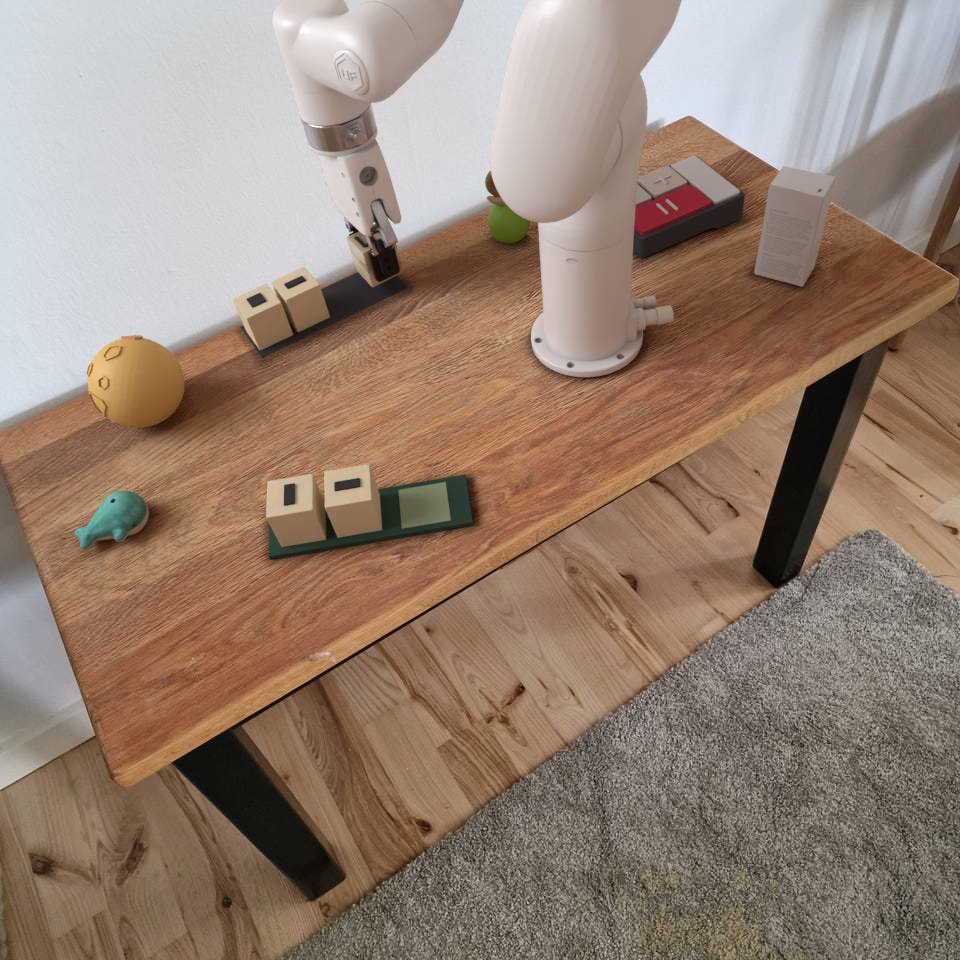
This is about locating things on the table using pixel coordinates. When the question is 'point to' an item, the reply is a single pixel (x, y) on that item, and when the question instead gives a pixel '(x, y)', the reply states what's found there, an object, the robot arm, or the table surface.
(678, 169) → the calculator
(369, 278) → the tile
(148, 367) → the stress ball
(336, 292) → the far word mat
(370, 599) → the table surface
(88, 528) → the whale figurine
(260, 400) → the table surface
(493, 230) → the snail figurine
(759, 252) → the cosmetic box
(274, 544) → the mat
